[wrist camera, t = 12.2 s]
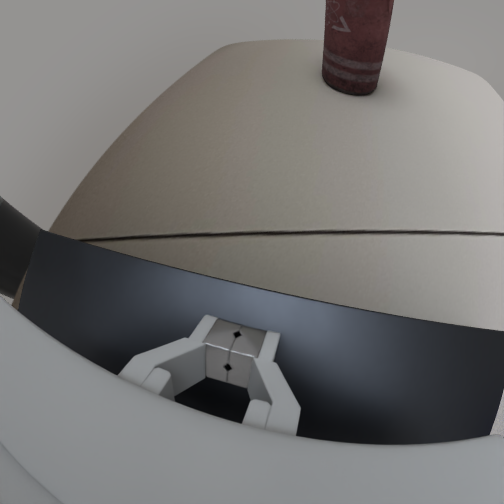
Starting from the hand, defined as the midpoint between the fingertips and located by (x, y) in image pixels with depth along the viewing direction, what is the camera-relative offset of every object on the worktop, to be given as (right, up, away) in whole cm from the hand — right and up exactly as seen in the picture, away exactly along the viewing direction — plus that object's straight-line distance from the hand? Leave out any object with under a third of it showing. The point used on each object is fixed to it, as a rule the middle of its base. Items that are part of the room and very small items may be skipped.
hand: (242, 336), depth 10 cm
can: (+11, +22, +13) cm, 28 cm away
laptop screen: (-2, -8, -1) cm, 8 cm away
